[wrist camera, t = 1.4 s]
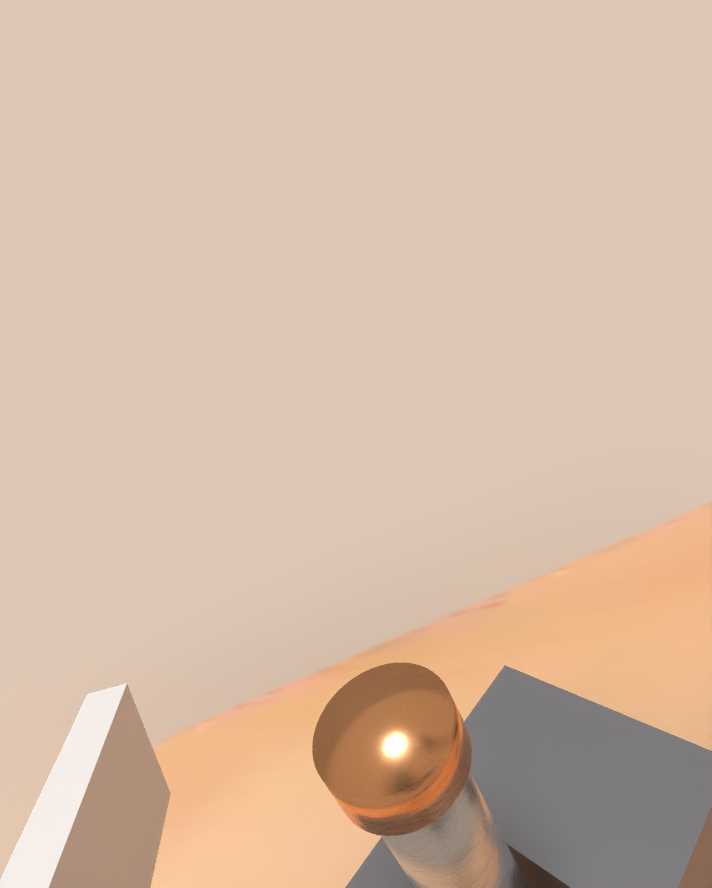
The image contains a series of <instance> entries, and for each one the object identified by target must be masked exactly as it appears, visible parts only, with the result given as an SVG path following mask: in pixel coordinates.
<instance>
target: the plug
mask: <svg viewBox="0 0 712 888" xmlns="http://www.w3.org/2000/svg"><path fill="white" fill-rule="evenodd" d="M312 752H313V760H314V763H315V767H316V769H317V771H318V774H319V776H320V777H321V778H322V780H323V781H324V783H325V784H326V786H327V787H328V789H329V790H330V792H331V793H332V795H333V796H334V798H335V799H336V801H337V802H338V804H339V805H340V807H341V808H342V810H343V811H344V813H345V814H346V815H347V817H348V818H349V819H350V820H351V821H352V822H353V823H354V824H355V825H357V826H358V827H360V828H361V829H363V830H365V831H367V832H370V833H373V834H376V835H381V836H382V838H383V839H384V841H385V843H386V844H387V846H388V847H389V849H390V850H391V852H392V853H393V855H394V856H395V858H396V860H397V861H398V863H399V864H400V866H401V867H402V869H403V870H404V872H405V873H406V875H407V877H408V878H409V880H410V881H411V883H412V884H413V886H414V887H415V888H529V887H528V885H527V883H526V881H525V879H524V877H523V875H522V873H521V871H520V869H519V867H518V865H517V863H516V861H515V859H514V857H513V855H512V853H511V851H510V849H509V847H508V845H507V843H506V841H505V839H504V837H503V835H502V834H501V832H500V830H499V828H498V826H497V824H496V822H495V820H494V818H493V816H492V814H491V812H490V810H489V808H488V806H487V804H486V802H485V800H484V798H483V796H482V794H481V792H480V790H479V788H478V786H477V784H476V782H475V780H474V778H473V776H472V774H471V772H470V766H471V760H472V747H471V740H470V736H469V733H468V730H467V728H466V726H465V723H464V721H463V719H462V717H461V715H460V713H459V711H458V709H457V707H456V705H455V703H454V701H453V699H452V697H451V695H450V693H449V691H448V689H447V687H446V685H445V684H444V682H443V681H442V680H441V679H440V678H439V677H438V676H437V675H436V674H435V673H434V672H432V671H430V670H429V669H427V668H425V667H422V666H420V665H416V664H412V663H391V664H385V665H381V666H378V667H375V668H372V669H370V670H368V671H365V672H363V673H362V674H360V675H358V676H356V677H355V678H353V679H352V680H351V681H349V682H348V683H347V684H345V685H344V686H343V687H342V688H341V689H340V690H339V691H338V692H337V693H336V694H335V695H334V696H333V698H332V699H331V700H330V701H329V703H328V704H327V706H326V707H325V709H324V710H323V712H322V714H321V716H320V718H319V721H318V723H317V726H316V729H315V733H314V737H313V751H312Z"/></svg>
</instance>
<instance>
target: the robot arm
mask: <svg viewBox="0 0 712 888" xmlns="http://www.w3.org/2000/svg"><path fill="white" fill-rule="evenodd" d="M169 798H170V791H169V788H168V786H167V783H166V781H165V778H164V776H163V773H162V771H161V768H160V766H159V763H158V761H157V758H156V756H155V753H154V751H153V748H152V746H151V743H150V741H149V738H148V736H147V733H146V730H145V728H144V726H143V723H142V720H141V718H140V715H139V713H138V710H137V708H136V705H135V703H134V700H133V698H132V695H131V693H130V690H129V688H128V685H127V684H123V685H120V686H116V687H112V688H108V689H105V690H101V691H98V692H93V693H90V694H87V697H86V698H85V701H84V703H83V705H82V707H81V709H80V711H79V713H78V716H77V718H76V720H75V722H74V724H73V726H72V728H71V731H70V733H69V735H68V737H67V739H66V741H65V743H64V745H63V748H62V750H61V752H60V754H59V756H58V758H57V760H56V762H55V764H54V767H53V769H52V771H51V773H50V775H49V777H48V779H47V782H46V784H45V786H44V788H43V790H42V792H41V794H40V796H39V799H38V801H37V803H36V805H35V807H34V809H33V812H32V814H31V816H30V818H29V820H28V822H27V824H26V826H25V829H24V830H23V833H22V835H21V837H20V839H19V841H18V843H17V845H16V847H15V850H14V852H13V854H12V856H11V858H10V860H9V862H8V865H7V867H6V869H5V871H4V873H3V875H2V877H1V880H0V888H150V886H151V882H152V877H153V872H154V868H155V863H156V858H157V854H158V849H159V844H160V840H161V835H162V830H163V826H164V821H165V816H166V812H167V807H168V803H169Z"/></svg>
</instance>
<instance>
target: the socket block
mask: <svg viewBox="0 0 712 888" xmlns="http://www.w3.org/2000/svg"><path fill="white" fill-rule="evenodd" d="M464 723H465V726H466V728H467V730H468V733H469V736H470V740H471V747H472V760H471V766H470V772H471V774H472V776H473V778H474V780H475V782H476V784H477V786H478V788H479V790H480V792H481V794H482V796H483V798H484V800H485V802H486V804H487V806H488V808H489V810H490V812H491V814H492V816H493V818H494V820H495V822H496V824H497V826H498V828H499V830H500V832H501V834H502V835H503V837H504V839H505V841H506V843H507V845H508V847H509V849H510V851H511V853H512V855H513V857H514V859H515V861H516V863H517V865H518V867H519V869H520V871H521V873H522V875H523V877H524V879H525V881H526V883H527V885H528V887H529V888H712V751H710V750H707V749H705V748H703V747H700V746H698V745H695V744H693V743H691V742H688V741H686V740H683V739H681V738H679V737H676V736H674V735H671V734H669V733H666V732H664V731H662V730H659V729H657V728H654V727H652V726H650V725H647V724H645V723H642V722H640V721H638V720H635V719H633V718H630V717H628V716H626V715H623V714H621V713H618V712H616V711H614V710H611V709H609V708H606V707H604V706H601V705H599V704H597V703H594V702H592V701H589V700H587V699H585V698H582V697H580V696H577V695H575V694H573V693H570V692H568V691H565V690H563V689H561V688H558V687H556V686H553V685H551V684H548V683H546V682H544V681H541V680H539V679H536V678H534V677H532V676H529V675H527V674H524V673H522V672H520V671H517V670H515V669H512V668H510V667H508V666H504V667H503V669H502V670H501V671H500V673H499V674H498V676H497V677H496V678H495V680H494V681H493V683H492V684H491V685H490V687H489V688H488V689H487V691H486V692H485V694H484V695H483V696H482V698H481V699H480V701H479V702H478V703H477V705H476V706H475V708H474V709H473V710H472V712H471V713H470V715H469V716H468V717H467V719H466V720H465V722H464ZM346 888H415V887H414V886H413V884H412V883H411V881H410V880H409V878H408V877H407V875H406V873H405V872H404V870H403V869H402V867H401V866H400V864H399V863H398V861H397V860H396V858H395V856H394V855H393V853H392V852H391V850H390V849H389V847H388V846H387V844H386V843H385V841H384V839H383V838H382V837H381V839H380V840H379V842H378V843H377V844H376V846H375V847H374V849H373V850H372V851H371V853H370V854H369V855H368V857H367V858H366V860H365V861H364V862H363V864H362V865H361V867H360V868H359V869H358V871H357V872H356V874H355V875H354V876H353V878H352V879H351V881H350V882H349V883H348V885H347V886H346Z"/></svg>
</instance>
